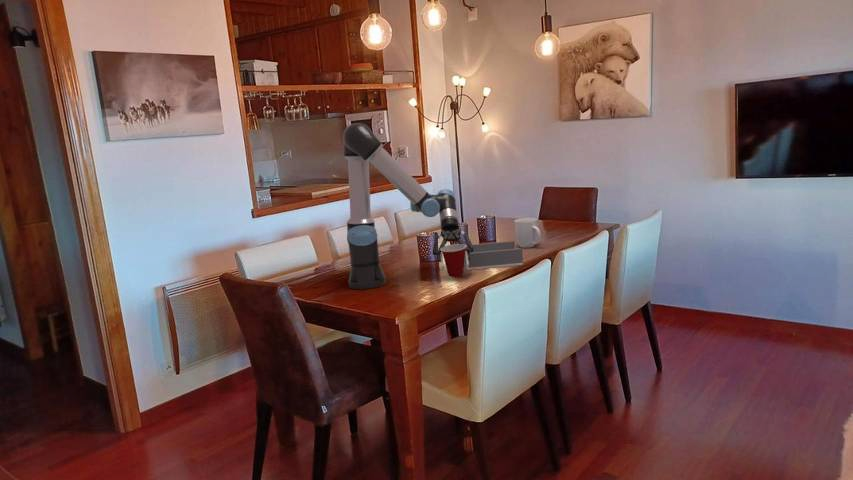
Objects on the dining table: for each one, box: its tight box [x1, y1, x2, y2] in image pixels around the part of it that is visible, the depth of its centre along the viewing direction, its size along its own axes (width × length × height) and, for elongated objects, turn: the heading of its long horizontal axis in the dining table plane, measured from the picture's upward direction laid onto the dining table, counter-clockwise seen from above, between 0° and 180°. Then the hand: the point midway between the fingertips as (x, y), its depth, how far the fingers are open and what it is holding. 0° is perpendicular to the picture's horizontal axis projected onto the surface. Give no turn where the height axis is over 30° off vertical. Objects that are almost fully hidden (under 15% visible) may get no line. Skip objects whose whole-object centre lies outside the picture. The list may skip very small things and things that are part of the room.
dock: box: [464, 240, 524, 271], centre depth 258 cm, size 24×18×7 cm
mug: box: [514, 217, 542, 249], centre depth 282 cm, size 15×11×13 cm
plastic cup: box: [440, 243, 467, 278], centre depth 238 cm, size 11×11×12 cm
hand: (455, 267), depth 235 cm, fingers closed on plastic cup, 9 cm apart
